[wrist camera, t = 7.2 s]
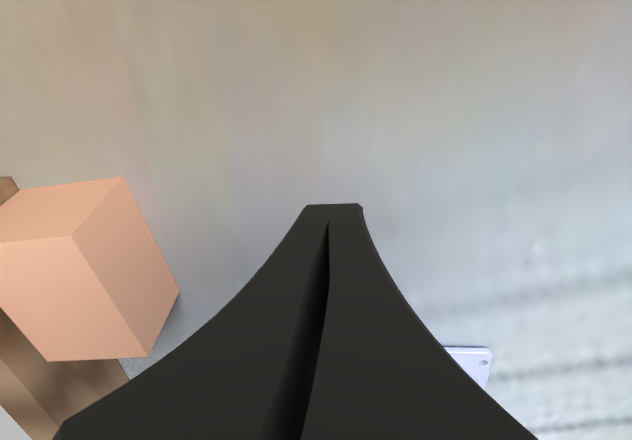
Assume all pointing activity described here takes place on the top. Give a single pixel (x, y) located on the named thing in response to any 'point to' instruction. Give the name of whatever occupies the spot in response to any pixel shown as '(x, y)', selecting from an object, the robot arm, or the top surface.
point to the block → (83, 271)
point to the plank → (47, 375)
